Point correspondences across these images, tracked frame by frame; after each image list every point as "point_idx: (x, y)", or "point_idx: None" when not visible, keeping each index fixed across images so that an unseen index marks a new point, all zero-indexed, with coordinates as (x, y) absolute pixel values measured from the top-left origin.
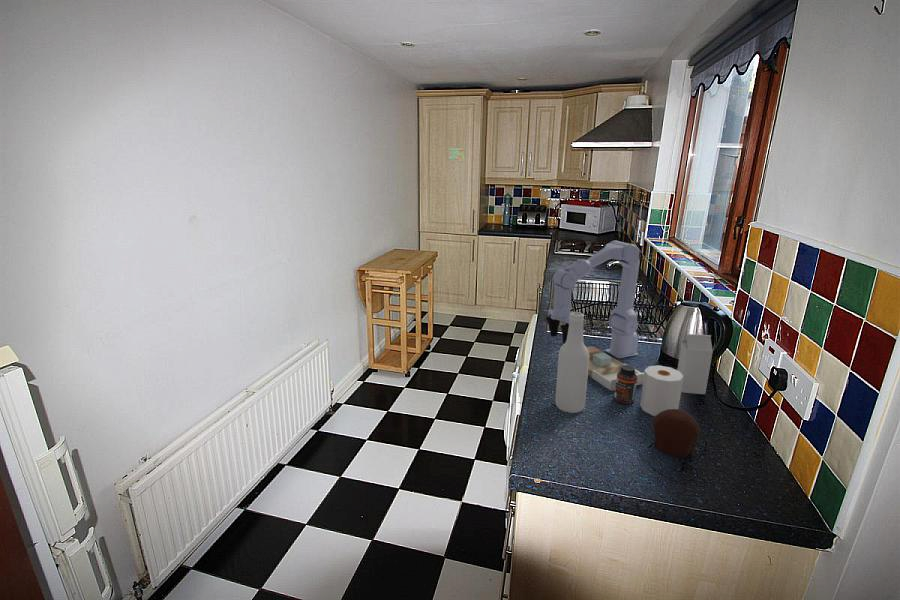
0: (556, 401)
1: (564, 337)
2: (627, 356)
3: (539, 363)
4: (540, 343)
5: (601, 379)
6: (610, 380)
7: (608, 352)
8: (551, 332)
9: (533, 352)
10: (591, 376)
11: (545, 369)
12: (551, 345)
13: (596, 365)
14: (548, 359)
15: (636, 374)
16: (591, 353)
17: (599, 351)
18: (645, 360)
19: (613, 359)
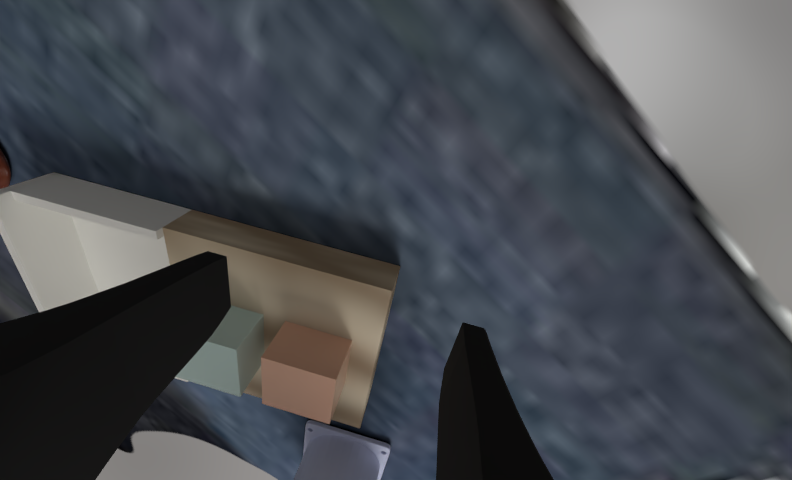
0: None
1: (98, 295)
2: (304, 443)
3: (504, 98)
4: (719, 350)
5: (98, 202)
6: (141, 249)
7: (366, 438)
8: (466, 362)
9: (676, 210)
10: (189, 213)
11: (398, 58)
12: (630, 366)
13: None
14: (504, 205)
15: None
16: (263, 357)
17: (263, 396)
18: (262, 448)
19: (251, 388)
